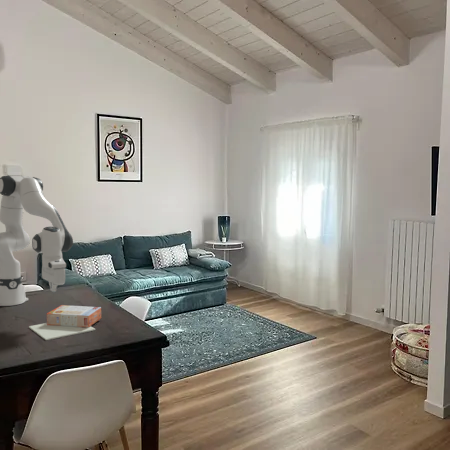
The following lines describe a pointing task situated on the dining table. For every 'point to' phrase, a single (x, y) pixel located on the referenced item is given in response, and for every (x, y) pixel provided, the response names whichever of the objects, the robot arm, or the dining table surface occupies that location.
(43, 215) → the robot arm
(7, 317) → the dining table surface
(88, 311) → the cracker box
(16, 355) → the dining table surface
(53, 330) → the mat
